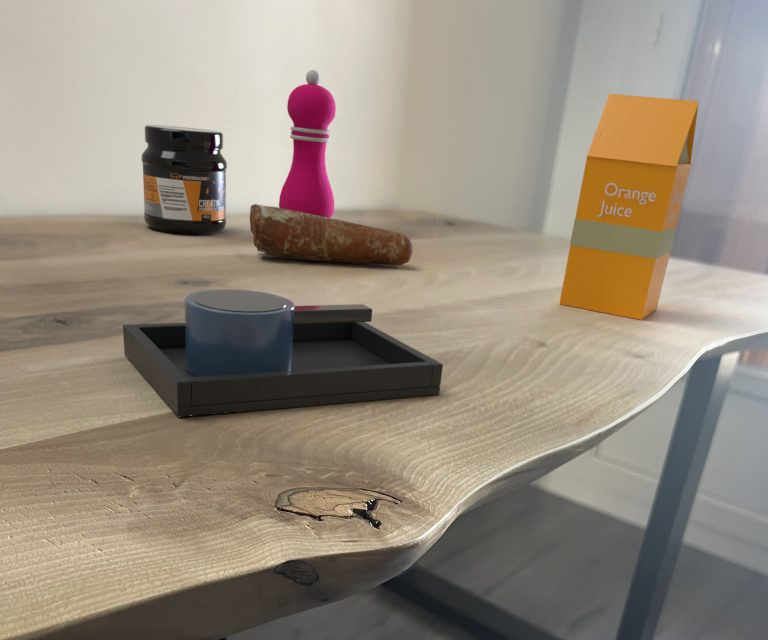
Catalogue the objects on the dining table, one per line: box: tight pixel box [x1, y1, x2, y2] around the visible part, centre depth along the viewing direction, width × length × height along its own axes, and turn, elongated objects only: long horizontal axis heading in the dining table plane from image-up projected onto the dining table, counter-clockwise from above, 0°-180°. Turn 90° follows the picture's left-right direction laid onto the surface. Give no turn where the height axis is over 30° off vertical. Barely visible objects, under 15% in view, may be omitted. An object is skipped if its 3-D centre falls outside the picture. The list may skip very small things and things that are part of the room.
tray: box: [122, 322, 444, 418], centre depth 54 cm, size 18×13×2 cm
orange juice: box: [558, 93, 700, 321], centre depth 83 cm, size 8×9×20 cm
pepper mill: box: [278, 69, 337, 219], centre depth 104 cm, size 7×7×20 cm
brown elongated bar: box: [249, 203, 414, 266], centre depth 94 cm, size 6×19×6 cm, turn 96°
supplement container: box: [141, 124, 228, 236], centre depth 104 cm, size 10×10×12 cm
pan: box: [184, 288, 373, 377], centre depth 54 cm, size 13×7×4 cm, turn 119°
